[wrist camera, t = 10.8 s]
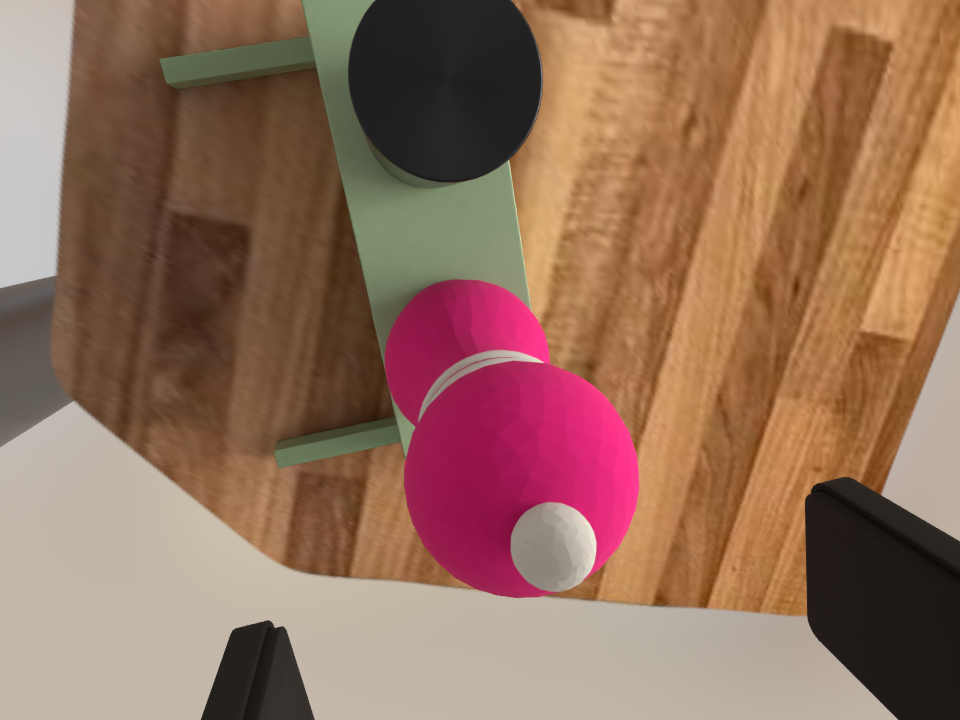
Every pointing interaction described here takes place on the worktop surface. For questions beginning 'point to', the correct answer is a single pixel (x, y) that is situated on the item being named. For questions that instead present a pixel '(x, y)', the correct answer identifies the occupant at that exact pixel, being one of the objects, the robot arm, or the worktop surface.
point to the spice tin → (444, 87)
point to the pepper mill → (505, 445)
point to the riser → (378, 205)
